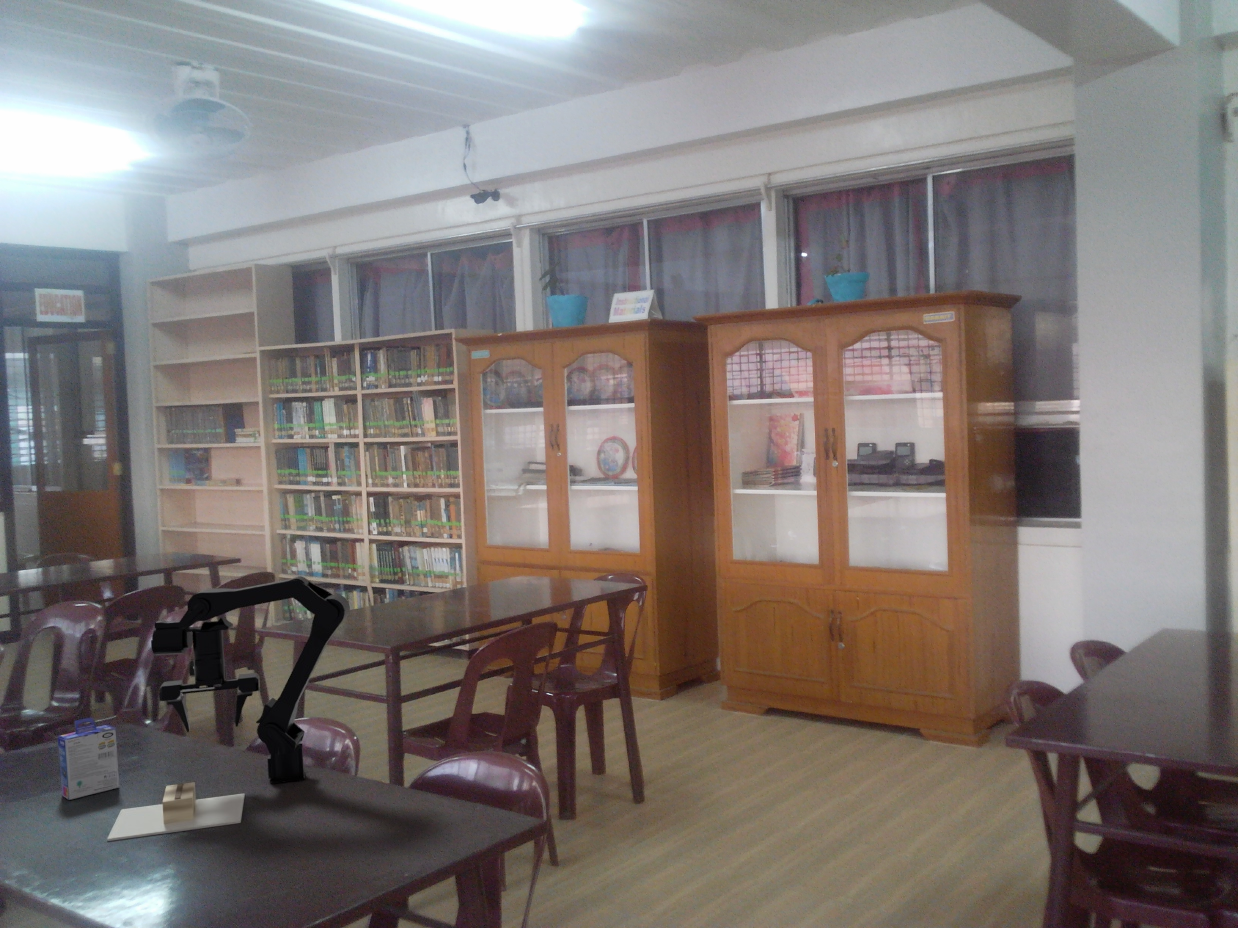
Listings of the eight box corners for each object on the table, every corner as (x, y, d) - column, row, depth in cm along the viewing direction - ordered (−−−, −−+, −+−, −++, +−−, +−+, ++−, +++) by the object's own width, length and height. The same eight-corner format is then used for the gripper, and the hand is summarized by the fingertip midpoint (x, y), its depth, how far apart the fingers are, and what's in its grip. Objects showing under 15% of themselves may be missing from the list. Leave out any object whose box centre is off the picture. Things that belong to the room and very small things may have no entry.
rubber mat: (244, 795, 210) (244, 793, 210) (240, 822, 195) (240, 820, 195) (121, 811, 204) (121, 809, 204) (107, 840, 188) (107, 838, 188)
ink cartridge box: (111, 782, 222) (107, 712, 222) (121, 787, 218) (117, 716, 218) (59, 795, 215) (55, 723, 215) (69, 801, 211) (64, 727, 211)
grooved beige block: (193, 819, 196) (192, 796, 196) (163, 823, 195) (162, 800, 194) (195, 802, 206) (194, 780, 206) (167, 806, 204) (166, 784, 204)
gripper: (258, 640, 228) (262, 713, 229) (163, 649, 223) (167, 724, 223) (256, 650, 218) (260, 727, 218) (156, 659, 212) (161, 738, 213)
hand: (212, 728), depth 218 cm, fingers open, 9 cm apart
